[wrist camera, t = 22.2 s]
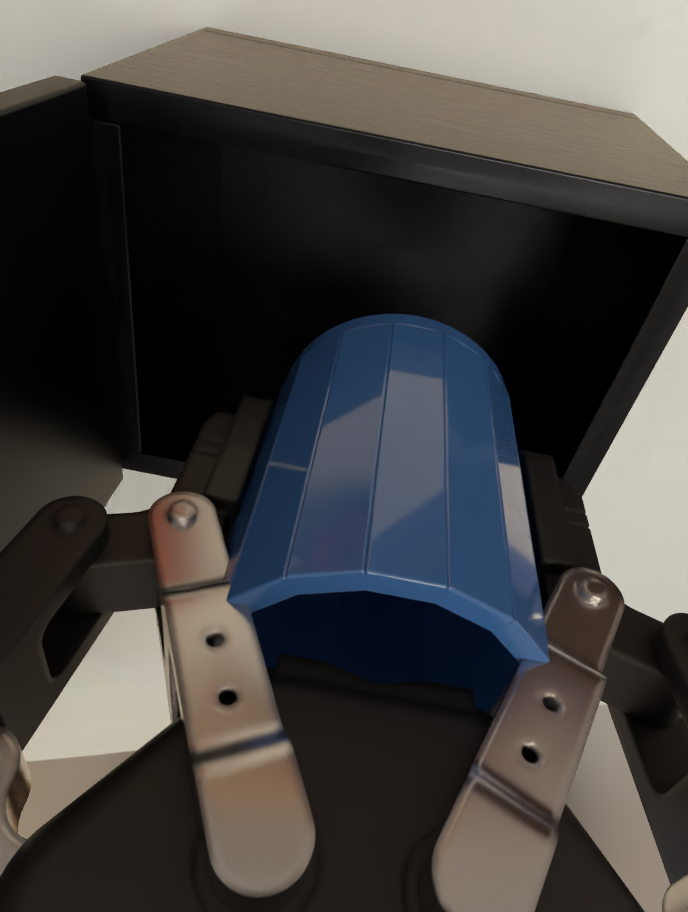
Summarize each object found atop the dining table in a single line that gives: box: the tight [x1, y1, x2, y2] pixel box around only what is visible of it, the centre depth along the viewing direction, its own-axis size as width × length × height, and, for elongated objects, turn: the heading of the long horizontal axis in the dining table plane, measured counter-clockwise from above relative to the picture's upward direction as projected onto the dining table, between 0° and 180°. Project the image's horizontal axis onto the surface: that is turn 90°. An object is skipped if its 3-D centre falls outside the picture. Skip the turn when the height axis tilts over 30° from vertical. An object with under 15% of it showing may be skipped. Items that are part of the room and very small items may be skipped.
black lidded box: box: [81, 28, 688, 496], centre depth 23 cm, size 16×12×10 cm
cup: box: [223, 314, 550, 712], centre depth 14 cm, size 6×6×8 cm
